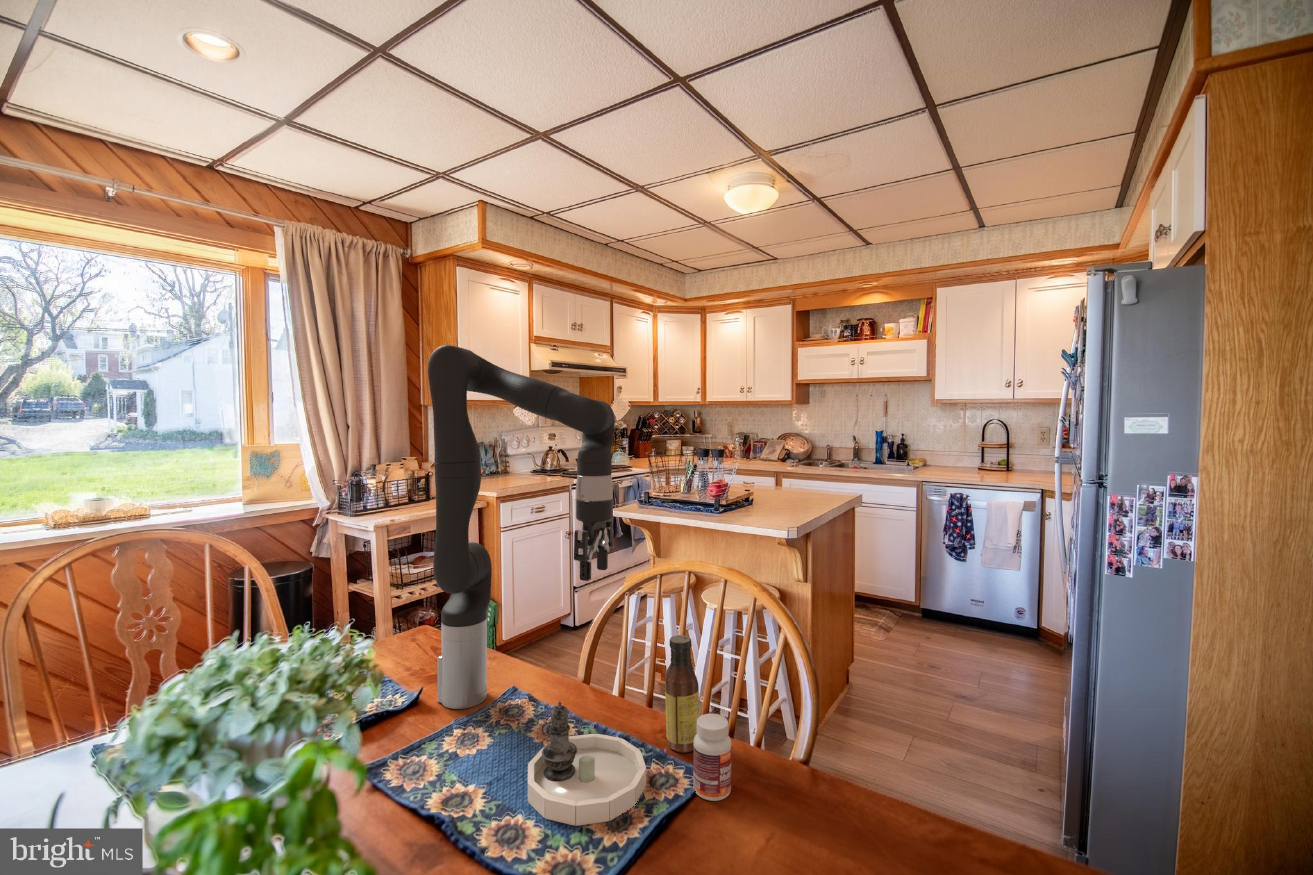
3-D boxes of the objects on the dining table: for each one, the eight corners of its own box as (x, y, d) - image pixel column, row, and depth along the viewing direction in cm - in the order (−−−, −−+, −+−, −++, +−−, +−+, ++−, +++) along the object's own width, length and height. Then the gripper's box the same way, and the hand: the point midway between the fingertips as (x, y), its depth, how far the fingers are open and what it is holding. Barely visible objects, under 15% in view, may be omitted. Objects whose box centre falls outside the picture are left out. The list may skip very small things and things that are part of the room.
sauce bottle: (704, 740, 107) (705, 635, 107) (692, 758, 102) (693, 647, 101) (672, 732, 110) (673, 630, 109) (659, 749, 104) (659, 641, 104)
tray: (504, 808, 88) (504, 783, 88) (561, 742, 106) (561, 721, 106) (619, 836, 82) (619, 809, 82) (658, 762, 100) (659, 739, 100)
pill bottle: (727, 805, 89) (727, 734, 89) (689, 797, 91) (689, 727, 90) (734, 782, 95) (734, 715, 95) (697, 775, 97) (698, 709, 96)
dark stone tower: (580, 762, 98) (580, 693, 98) (572, 783, 92) (572, 710, 92) (547, 760, 99) (547, 691, 99) (537, 781, 93) (537, 708, 93)
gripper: (591, 492, 126) (591, 565, 126) (562, 500, 112) (561, 582, 112) (623, 493, 123) (623, 568, 124) (597, 502, 110) (596, 585, 110)
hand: (594, 574), depth 118 cm, fingers open, 8 cm apart
